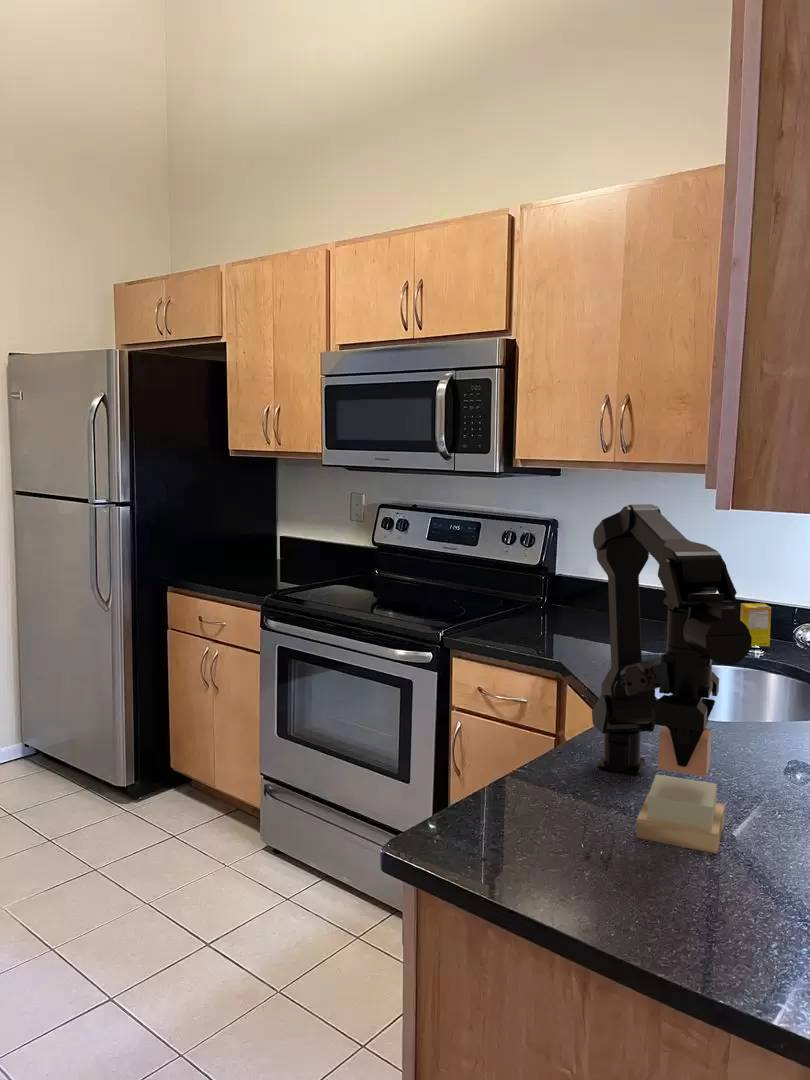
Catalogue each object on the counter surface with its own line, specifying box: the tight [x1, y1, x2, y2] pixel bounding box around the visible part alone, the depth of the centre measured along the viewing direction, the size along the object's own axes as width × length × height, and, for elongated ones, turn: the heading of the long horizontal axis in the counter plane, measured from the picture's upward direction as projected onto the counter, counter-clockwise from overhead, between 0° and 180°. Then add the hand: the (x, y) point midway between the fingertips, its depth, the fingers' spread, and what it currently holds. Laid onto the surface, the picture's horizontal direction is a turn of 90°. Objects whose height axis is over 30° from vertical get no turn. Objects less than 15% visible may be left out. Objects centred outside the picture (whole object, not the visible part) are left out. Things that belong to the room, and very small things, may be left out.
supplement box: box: [739, 602, 772, 650], centre depth 211 cm, size 6×6×11 cm
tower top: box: [647, 773, 718, 830], centre depth 110 cm, size 8×8×3 cm
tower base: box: [635, 793, 726, 854], centre depth 110 cm, size 10×10×3 cm
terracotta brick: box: [657, 726, 713, 778], centre depth 109 cm, size 4×6×5 cm
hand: (684, 759), depth 109 cm, fingers closed on terracotta brick, 4 cm apart
